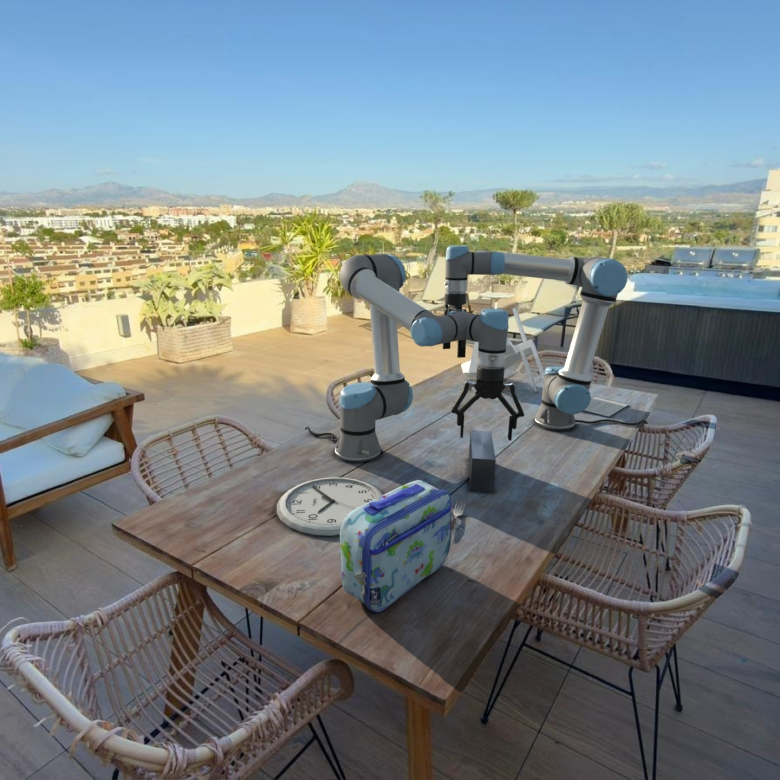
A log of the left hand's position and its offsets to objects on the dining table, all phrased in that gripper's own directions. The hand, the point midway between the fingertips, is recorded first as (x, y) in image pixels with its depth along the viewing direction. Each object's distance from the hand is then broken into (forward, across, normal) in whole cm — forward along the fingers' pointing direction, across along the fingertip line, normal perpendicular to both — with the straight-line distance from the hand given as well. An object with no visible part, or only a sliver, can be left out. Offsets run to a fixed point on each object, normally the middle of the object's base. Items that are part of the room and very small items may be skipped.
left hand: (485, 437), depth 150 cm
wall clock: (+16, -41, -17) cm, 47 cm away
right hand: (-15, -10, +40) cm, 44 cm away
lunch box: (+16, -20, -47) cm, 54 cm away
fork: (+16, -8, -21) cm, 28 cm away
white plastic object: (+16, +15, +107) cm, 109 cm away
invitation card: (+16, +56, +81) cm, 100 cm away
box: (+16, 0, +7) cm, 17 cm away
